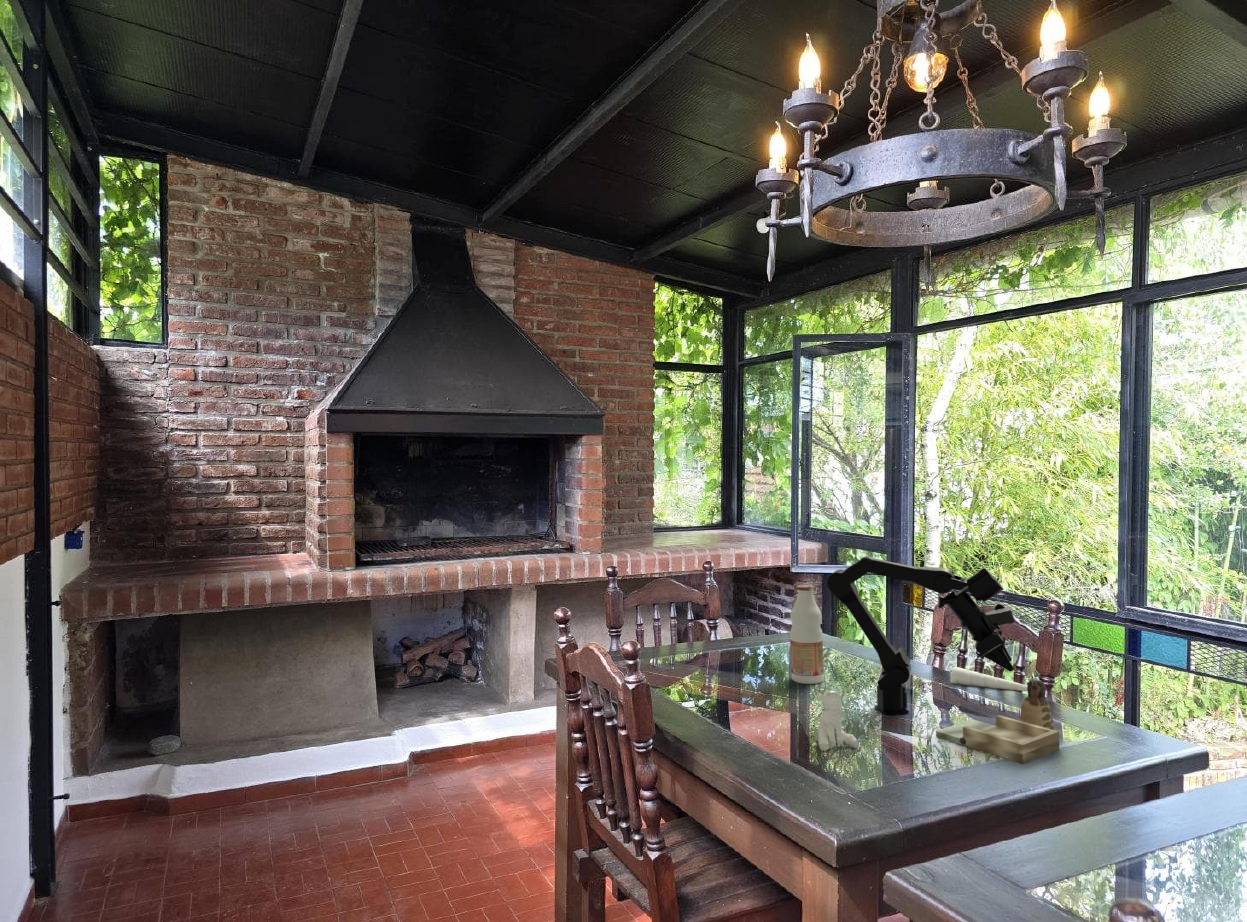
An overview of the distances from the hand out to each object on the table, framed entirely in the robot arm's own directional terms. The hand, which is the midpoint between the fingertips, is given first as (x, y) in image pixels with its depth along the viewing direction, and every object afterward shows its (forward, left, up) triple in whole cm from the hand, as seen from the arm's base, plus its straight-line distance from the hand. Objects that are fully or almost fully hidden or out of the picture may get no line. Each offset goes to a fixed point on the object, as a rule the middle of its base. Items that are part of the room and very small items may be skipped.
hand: (1011, 665), depth 190 cm
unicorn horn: (+15, +28, -14) cm, 35 cm away
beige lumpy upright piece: (-48, -2, -14) cm, 50 cm away
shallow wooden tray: (-13, -11, -14) cm, 22 cm away
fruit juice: (-32, +48, -14) cm, 59 cm away
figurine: (+2, -6, -14) cm, 15 cm away
